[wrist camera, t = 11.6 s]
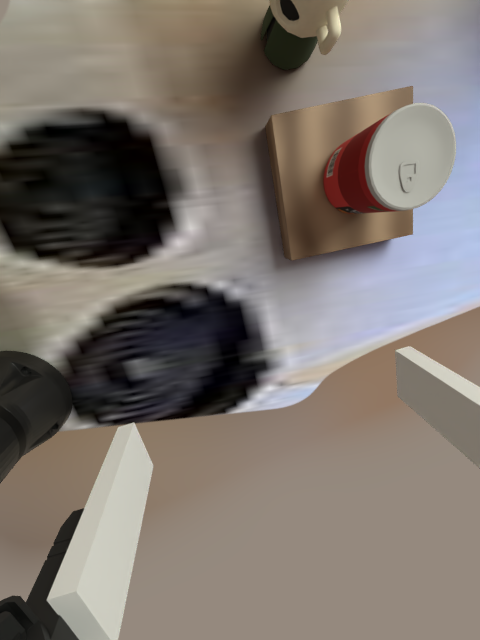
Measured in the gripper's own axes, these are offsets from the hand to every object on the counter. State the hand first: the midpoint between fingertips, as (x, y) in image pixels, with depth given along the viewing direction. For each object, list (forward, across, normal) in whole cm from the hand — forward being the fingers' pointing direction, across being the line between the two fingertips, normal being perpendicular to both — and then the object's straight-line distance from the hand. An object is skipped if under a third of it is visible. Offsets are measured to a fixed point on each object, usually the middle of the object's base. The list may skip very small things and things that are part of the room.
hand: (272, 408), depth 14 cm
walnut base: (+28, +17, +10) cm, 34 cm away
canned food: (+24, +18, +10) cm, 32 cm away
